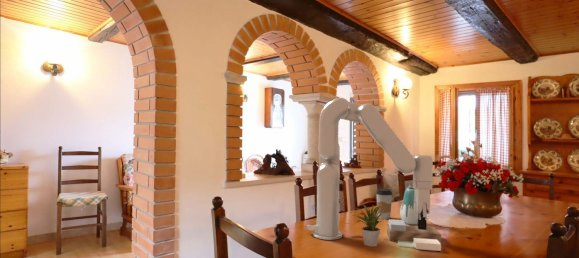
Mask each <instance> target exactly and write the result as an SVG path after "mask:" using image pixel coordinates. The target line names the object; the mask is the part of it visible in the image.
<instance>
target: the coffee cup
mask: <svg viewBox="0 0 579 258" xmlns="http://www.w3.org/2000/svg"><path fill="white" fill-rule="evenodd" d="M375 194H376V207H377V206H380V205H382V206H380V208H379V210H380V209H381V210H380V212H379V210H378V212H379V214H380V213H381V212H382V214H381V216H380V217H379V220H389V219H390V218H391V214H392V213H391V212H392V201H393V198H392V197H393V192H392V189H389V188H377V189H376V193H375ZM381 207H382V208H381ZM383 209H384V210H383ZM382 210H383V211H382ZM378 212H377V213H378ZM383 212H384V213H383ZM379 214H378V216H379ZM378 216H377V217H378Z"/></svg>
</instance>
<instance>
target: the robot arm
mask: <svg viewBox="0 0 579 258" xmlns="http://www.w3.org/2000/svg"><path fill="white" fill-rule="evenodd" d="M340 120H345V121H350V122H354V123H359V124H360V123H361V124H362V126H364V128H365V129H366V131H367V132H368V133H369V135H370V136H371V137H372V139H373V140H374V142H376V144H377V145H378V146H379V147H380V148H381V149H382V150H383V151H384V152H385V153H386V154H387V156H388V157H389V158H390V160H391V161H392V163H393V167H394V168H395V169H396V171H399V172H400V173H403V174H406V175H407V174H410V173H412V187H413V188H415V192H414V210H415V211H416V212H417V213H418V225H417V226H418V229H420V230H426V229H427V227H428V226H427V225H428V224H427V223H428V221H427V220H428V219H427V217H428V216H427V215H428V214H430V213H431V194H430V193H431V191H430V190H433V161H434V160H433V157H432V156H431V155H428V154H427V155H426V154H416V155H413V154H411V152H410V151H409V149H408V148H407V147H406V145H405V144H404V143H403V141H401V139H400V138H399V136H398V135H397V134H396V133H395V131H394V130H393V129H392V128H391V127H390V125H389V124H388V122H387V121H386V119H385V118H384V117H383V115H382V114H381V112H380V111H379V110H378V109H377V107H376V106H375V105H373V104H371V103H369V102H368V103H363V104H362V103H356V102H352V101H348V99H347V98H344V97H337V98H334V99H331V100H330V101H329V102H327V103H326V104H325V105H324V107H323V108H322V110H321V112H320V115H319V119H318V121H319V122H318V144H317V151H318V169H317V171H316V223H315V224H313V225H312V224H306V230H308V231H313V232H312V236H313V237H315V238H316V239H318V240H319V239H320V240H326V241H334V240H340V239H341V238H342V237H343V233H342V232H341V231H339V230H340V229H339V227H340V226H339V225H340V224H339V223H340V178H341V177H340V176H341V175H340V173H341V167H340V166H341V163H340V162H341V161H340V160H341V159H340V157H341V154H340V153H341V151H340V149H341V148H340V147H341V146H340V143H339V122H340Z"/></svg>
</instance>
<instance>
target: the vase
mask: <svg viewBox="0 0 579 258" xmlns="http://www.w3.org/2000/svg"><path fill="white" fill-rule="evenodd" d="M414 192H415V188H413V186H408V187H406V189H405V191H404V194H403V199H402V201H401V206H400V209H399V216H400V220H403V221H404V223H405V225H410V226H418V213H417V212H416V211H415V210H414Z"/></svg>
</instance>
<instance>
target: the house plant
mask: <svg viewBox="0 0 579 258" xmlns="http://www.w3.org/2000/svg"><path fill="white" fill-rule="evenodd" d="M362 206H363V207H364V209H365V212H366V213H365V212H364V211H363V210H362V209H360V208H358V207H353V208H355V209H356V210H358V211H360V213H361V214H362V215H363V216H361V215H357V214H352V216H354V217H355V218H356V219H357V220H356V221H355V224H357V223H360V222H361V223H363V225H364V226H363V227H361V232H362V238H363V245H365V246H367V247H377V246H378V242H379V237H380V231H381V229H380V228H378V227H377V225H378V224H380V223H381V222H382V223H383V220H381V221H380V218H379V217H380V216H381V214H382V212H381V213H380V214H379V212H380V210H381V209H380V210H379V208H380V206H382V205H380V206H377V205H376V206H375V207H374V205H372V206H371V210H370V208H369V207H367V206H366V205H364V204H362ZM381 208H382V207H381ZM378 210H379V212H378ZM383 210H384V209H383ZM383 210H382V211H383ZM383 213H384V212H383ZM378 214H379V216H378Z"/></svg>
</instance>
